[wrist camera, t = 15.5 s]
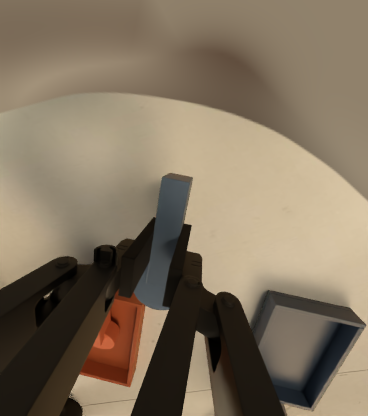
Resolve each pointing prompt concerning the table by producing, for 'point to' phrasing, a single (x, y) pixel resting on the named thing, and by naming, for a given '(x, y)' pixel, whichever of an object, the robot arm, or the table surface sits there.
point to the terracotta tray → (119, 344)
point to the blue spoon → (164, 239)
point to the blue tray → (304, 345)
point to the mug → (71, 409)
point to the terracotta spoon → (107, 334)
